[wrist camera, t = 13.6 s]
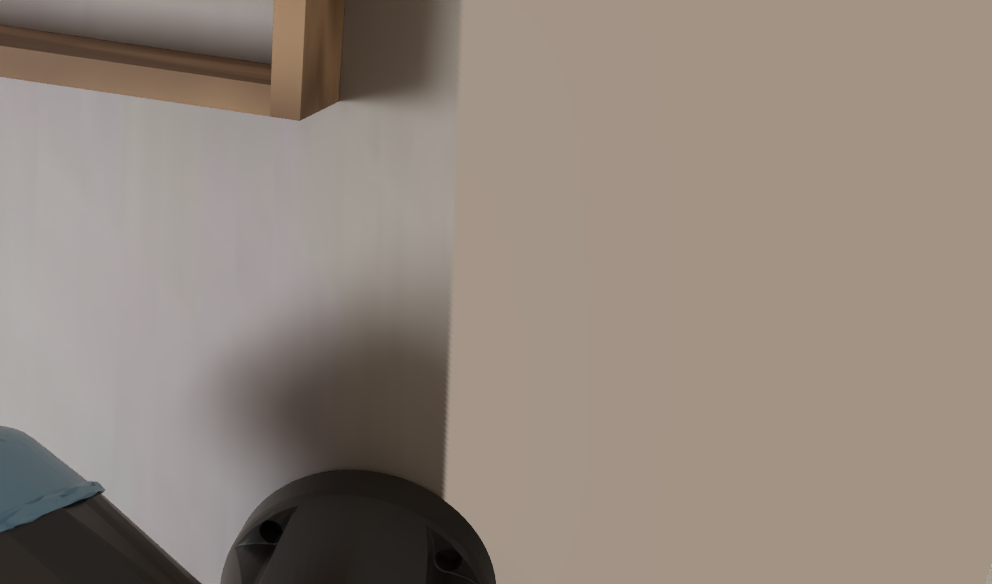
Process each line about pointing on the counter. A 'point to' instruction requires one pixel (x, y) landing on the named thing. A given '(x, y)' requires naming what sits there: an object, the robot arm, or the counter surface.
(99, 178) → the counter surface
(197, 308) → the counter surface
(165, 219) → the counter surface
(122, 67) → the box frame
